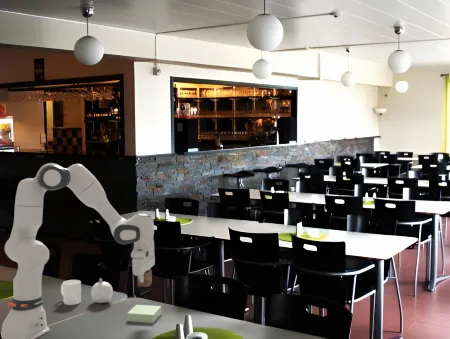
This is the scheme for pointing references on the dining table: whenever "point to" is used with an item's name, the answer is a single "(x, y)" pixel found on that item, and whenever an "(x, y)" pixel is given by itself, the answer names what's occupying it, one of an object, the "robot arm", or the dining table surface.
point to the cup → (71, 292)
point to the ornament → (102, 292)
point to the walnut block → (147, 279)
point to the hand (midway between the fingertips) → (144, 280)
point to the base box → (144, 313)
